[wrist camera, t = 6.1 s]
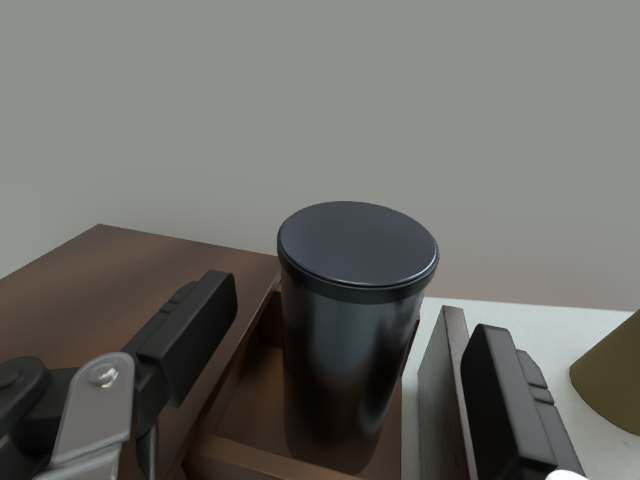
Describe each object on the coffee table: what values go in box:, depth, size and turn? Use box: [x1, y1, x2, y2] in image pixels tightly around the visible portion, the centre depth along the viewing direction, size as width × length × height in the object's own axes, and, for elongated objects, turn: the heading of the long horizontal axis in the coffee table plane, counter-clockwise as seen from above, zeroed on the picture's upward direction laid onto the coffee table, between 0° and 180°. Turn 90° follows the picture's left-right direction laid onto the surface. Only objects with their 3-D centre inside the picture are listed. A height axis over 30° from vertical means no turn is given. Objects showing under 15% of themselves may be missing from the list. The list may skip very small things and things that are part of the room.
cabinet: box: [0, 224, 281, 480], centre depth 18 cm, size 15×13×9 cm
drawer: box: [181, 283, 478, 480], centre depth 16 cm, size 18×11×7 cm, turn 77°
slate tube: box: [277, 201, 439, 476], centre depth 14 cm, size 6×6×13 cm
